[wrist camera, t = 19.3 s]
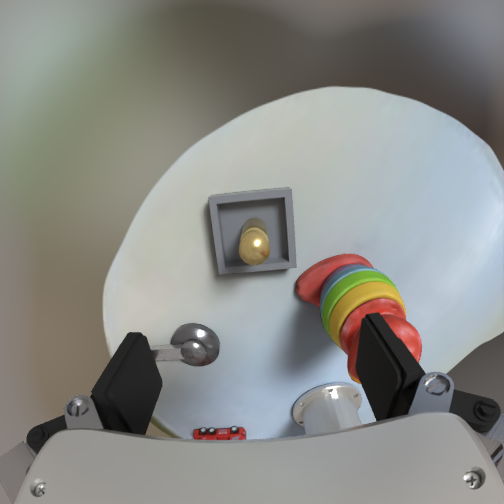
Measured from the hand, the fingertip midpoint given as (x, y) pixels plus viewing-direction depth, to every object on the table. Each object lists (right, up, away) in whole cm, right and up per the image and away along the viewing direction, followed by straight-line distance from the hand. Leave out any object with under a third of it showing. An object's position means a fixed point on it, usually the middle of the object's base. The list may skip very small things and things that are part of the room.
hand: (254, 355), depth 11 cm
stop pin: (0, +7, +22) cm, 23 cm away
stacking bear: (+12, 0, +25) cm, 27 cm away
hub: (-8, -9, +27) cm, 30 cm away
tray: (0, +7, +22) cm, 23 cm away
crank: (-12, -10, +26) cm, 30 cm away
